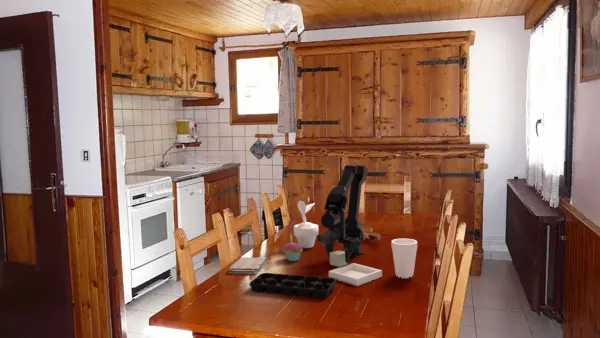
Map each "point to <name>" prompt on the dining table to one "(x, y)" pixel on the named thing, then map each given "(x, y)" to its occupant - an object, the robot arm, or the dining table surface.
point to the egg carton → (293, 285)
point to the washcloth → (248, 265)
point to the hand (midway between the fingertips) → (338, 260)
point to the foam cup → (404, 256)
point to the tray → (355, 274)
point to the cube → (337, 258)
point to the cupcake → (292, 250)
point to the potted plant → (305, 227)
